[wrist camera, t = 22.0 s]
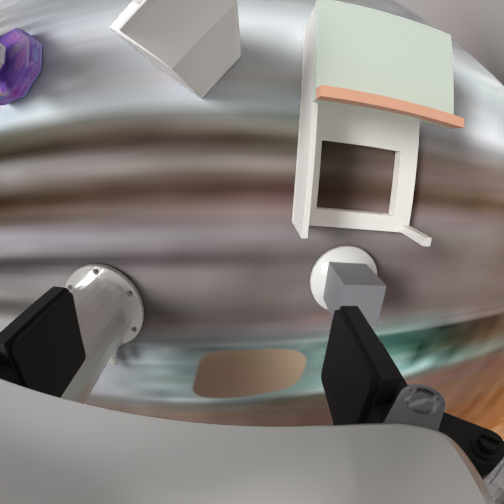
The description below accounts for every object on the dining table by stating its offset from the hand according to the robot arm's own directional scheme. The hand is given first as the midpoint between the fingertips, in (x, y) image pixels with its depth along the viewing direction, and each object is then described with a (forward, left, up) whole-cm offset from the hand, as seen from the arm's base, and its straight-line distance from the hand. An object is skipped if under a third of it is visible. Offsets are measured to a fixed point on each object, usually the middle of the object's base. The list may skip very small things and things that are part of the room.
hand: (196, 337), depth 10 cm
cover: (+17, -14, -21) cm, 30 cm away
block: (-9, -14, -27) cm, 32 cm away
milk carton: (+17, +5, -28) cm, 34 cm away
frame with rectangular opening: (+10, -14, -28) cm, 33 cm away
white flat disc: (-9, -14, -28) cm, 33 cm away
